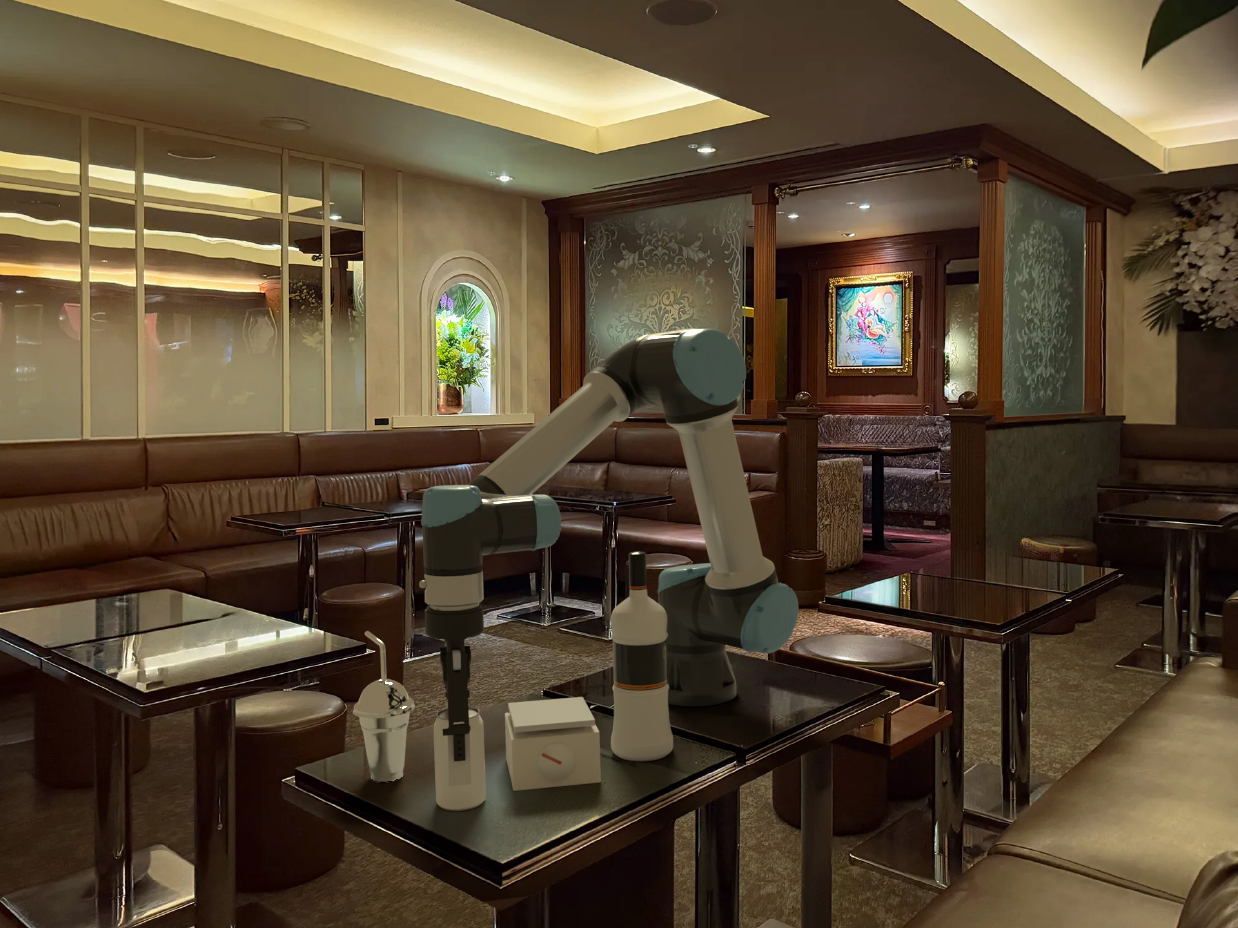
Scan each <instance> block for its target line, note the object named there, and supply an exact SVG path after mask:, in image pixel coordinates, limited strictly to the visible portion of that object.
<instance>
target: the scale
mask: <svg viewBox="0 0 1238 928" xmlns="http://www.w3.org/2000/svg"><path fill="white" fill-rule="evenodd" d="M507 705H508V706H507V707H508V708H507V709H508V712H504V730H505V753H506V754H505V758H506V764H507V769H508V774H509V778H510V782H511V788H512V791H514V792H515V791H523V790H525V791H528V790H535V789H537V790H538V789H545V788H555V787H556V788H557V787H565V786H579V785H586V784H596V783H597V784H598V783H601V782H602V779H601V777H602V776H601V770H602V769H601V744H600V743H601V741H600V738H601V735H600V731H599V728H598V727H597V725H596V718H595V717H594V715H593V714H592V712H591V710H590V708H589V706H588V704H587V702H586V700H585V699H584V697H583V696H577V697H567V698H566V697H565V698H551V699H540V700H529V701H528V700H527V701H517V702H508V703H507Z"/></svg>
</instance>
